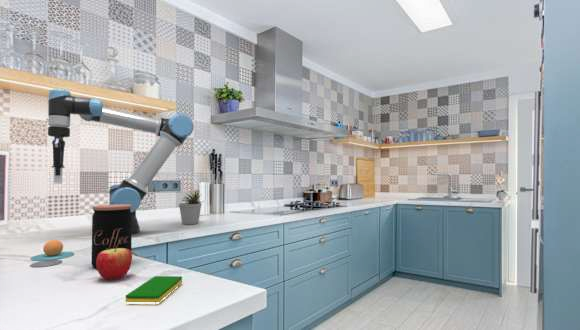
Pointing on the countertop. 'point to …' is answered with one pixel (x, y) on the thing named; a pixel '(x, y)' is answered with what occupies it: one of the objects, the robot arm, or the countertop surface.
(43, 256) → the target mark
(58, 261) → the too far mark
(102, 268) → the apple
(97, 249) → the coffee jar
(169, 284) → the dish sponge
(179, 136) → the robot arm
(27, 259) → the countertop surface
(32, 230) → the countertop surface
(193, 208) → the potted plant
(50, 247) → the ball
